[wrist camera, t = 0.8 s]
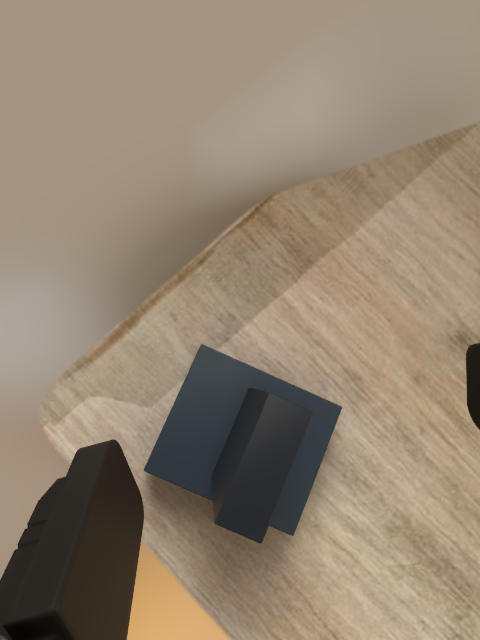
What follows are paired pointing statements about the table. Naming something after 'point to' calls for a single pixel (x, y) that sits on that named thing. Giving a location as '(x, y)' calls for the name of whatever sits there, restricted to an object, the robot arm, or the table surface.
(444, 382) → the table surface
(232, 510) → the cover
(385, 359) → the table surface
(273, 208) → the table surface
